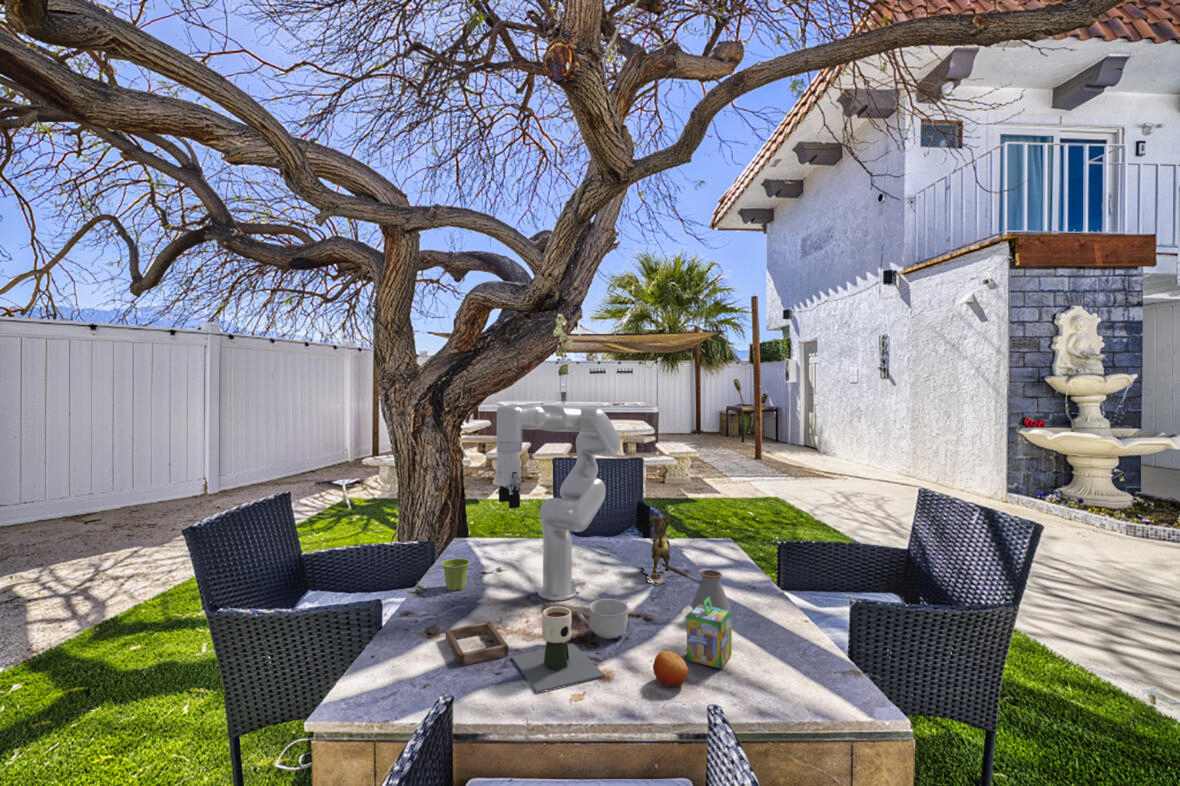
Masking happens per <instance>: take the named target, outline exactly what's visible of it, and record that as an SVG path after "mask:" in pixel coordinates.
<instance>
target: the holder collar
mask: <svg viewBox="0 0 1180 786" xmlns="http://www.w3.org/2000/svg"><path fill="white" fill-rule="evenodd" d="M482 633H485V634H487V635H488V634H489V635H488V636H489V638H490V637H491V638H490V639H491V641H492V640H493V641H494V642H493V641H492V642H493V643H495V644H496V645H495V646H491V647H486V648H481V649H476V650H470V651H465V652H464V651H463V650H462V648H461V645H460V644H459V642H458V641H457V639H455V638H459V639H462V638H461V637H464V638H468V637H467V636H469V637H473V636H472V635H474V636H477V635H476V634H480V635H483V634H482ZM446 640H447V641H446ZM445 641H446V643H447V642H448V643H447V644H449V645H448V646H450V647H449V649H450V648H451V649H450V650H452V651H451V653H452V652H453V653H452V654H453V656H454V659H455V660H456V662H457V664H458V666H459V667H461V666H467V665H471V664H474V663H475V662H476V663H481V662H485V660H486V661H490V660H489V659H491V660H495V659H499V658H498V657H500V658H504V657H503V656H505V657H508V656H509V645H508V644H507V642H506V641H505V640H504V638H503V637H502V636H501V634H500V633H499V631H498V630H497V629H496V627H495V626H494V625H493V623H492V622H491V621H487V622H480V623H476V624H469V625H464V626H460V627H453V628H449V629H445ZM494 658H495V659H494ZM476 663H475V664H476Z"/></svg>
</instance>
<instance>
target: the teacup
mask: <svg viewBox="0 0 1180 786" xmlns="http://www.w3.org/2000/svg"><path fill="white" fill-rule="evenodd" d="M583 610H585V611H587V614H588V615H589V619H588V618H586V617H585V616H584V615H583V614H582V611H583ZM628 612H629V606H628V604H627V603H625V602H624V601H622V600H618V599H614V598H602V599H601V598H600V599H596V600H594V601H592V602H591V603H590V604H589V605H586V604H583V605H580V606H579V608H578V610H577V616H578V617H579V619H580V620H581V621H582V622H584V623H585V624H587V626H588V627H590V629H591V631H592V632H593V634H595V635H597V637H599V638H601V639H604V638H605V639H606V640H613V639H612V638H614V639H617V638H619V637H621V635H623V634H624V633H625V631H626V630H627V628H628V619H629V613H628ZM605 639H604V640H605Z"/></svg>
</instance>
